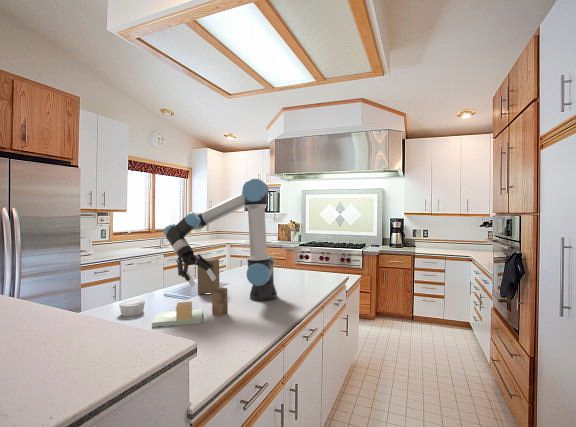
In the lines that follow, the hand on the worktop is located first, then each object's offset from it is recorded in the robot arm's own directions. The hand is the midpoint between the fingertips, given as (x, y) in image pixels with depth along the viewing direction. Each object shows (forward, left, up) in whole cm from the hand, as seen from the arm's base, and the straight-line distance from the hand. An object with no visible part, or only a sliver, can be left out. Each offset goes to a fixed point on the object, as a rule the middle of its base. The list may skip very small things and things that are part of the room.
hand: (204, 282), depth 156 cm
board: (+11, +11, -14) cm, 21 cm away
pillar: (-7, +7, -14) cm, 17 cm away
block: (-1, -36, -14) cm, 39 cm away
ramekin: (+34, -5, -14) cm, 37 cm away
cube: (+8, +15, -12) cm, 20 cm away
